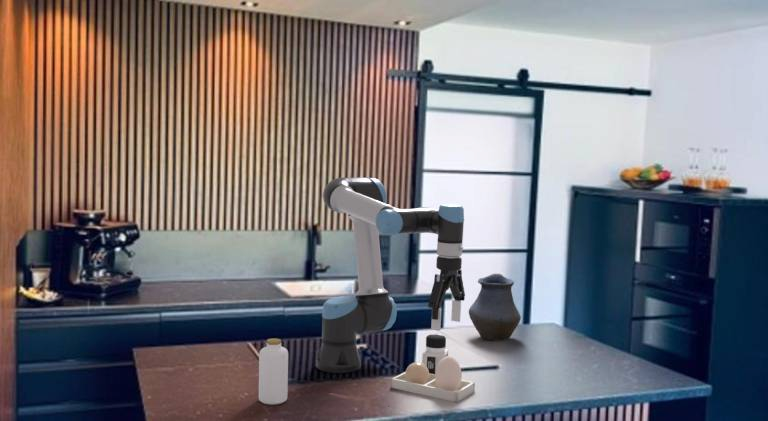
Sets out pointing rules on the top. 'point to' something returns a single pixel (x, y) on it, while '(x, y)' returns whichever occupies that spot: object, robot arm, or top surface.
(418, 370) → the beige ball
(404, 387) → the tray
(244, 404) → the top surface
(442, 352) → the container
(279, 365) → the white bottle
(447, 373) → the egg
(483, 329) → the dark clay urn
